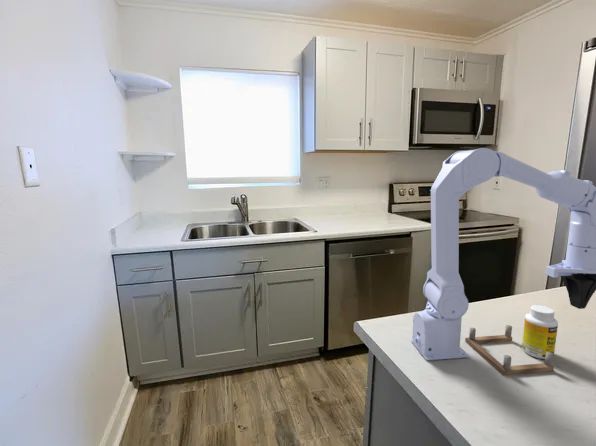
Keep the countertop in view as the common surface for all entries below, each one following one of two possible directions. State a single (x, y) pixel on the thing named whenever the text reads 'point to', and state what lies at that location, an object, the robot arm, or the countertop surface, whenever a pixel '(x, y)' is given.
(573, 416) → the countertop surface
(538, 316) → the supplement bottle
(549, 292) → the countertop surface
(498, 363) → the peg frame
